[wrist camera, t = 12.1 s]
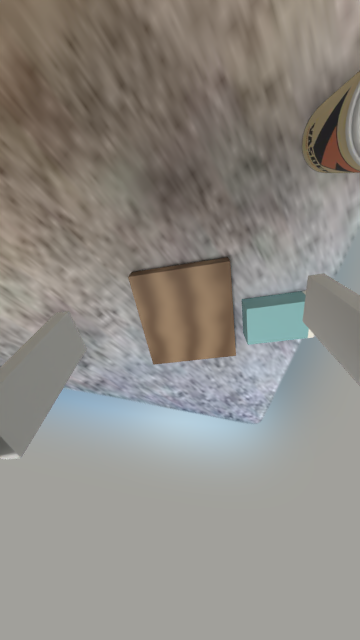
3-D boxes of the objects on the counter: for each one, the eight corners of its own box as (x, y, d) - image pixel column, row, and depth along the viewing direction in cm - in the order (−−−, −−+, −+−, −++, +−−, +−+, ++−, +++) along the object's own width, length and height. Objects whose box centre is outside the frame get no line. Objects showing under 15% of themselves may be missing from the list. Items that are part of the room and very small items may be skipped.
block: (247, 344, 39) (313, 337, 38) (246, 309, 36) (319, 299, 35) (243, 332, 43) (303, 325, 42) (241, 299, 39) (307, 290, 38)
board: (155, 356, 46) (153, 364, 44) (131, 272, 38) (128, 277, 36) (233, 347, 44) (235, 355, 42) (227, 257, 36) (230, 261, 34)
